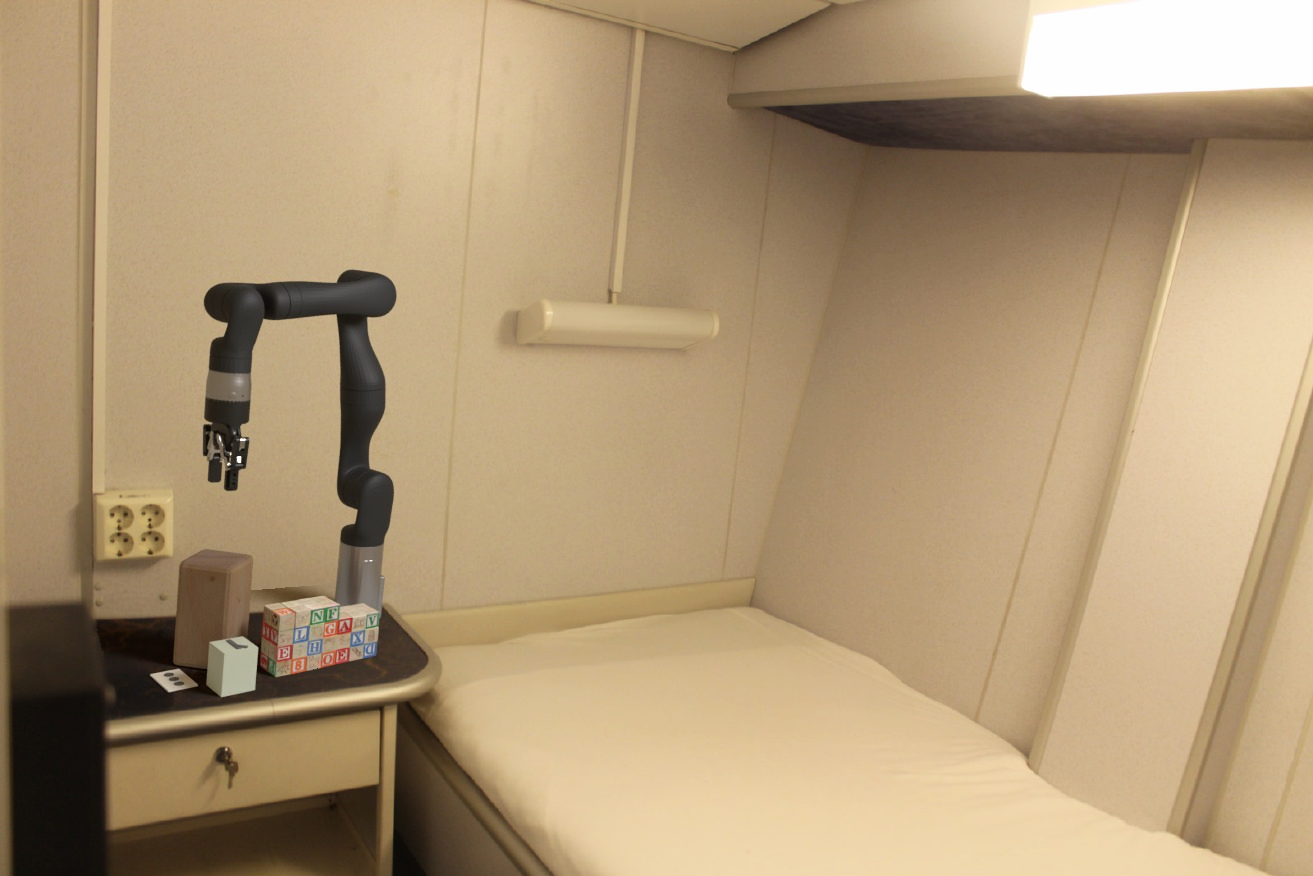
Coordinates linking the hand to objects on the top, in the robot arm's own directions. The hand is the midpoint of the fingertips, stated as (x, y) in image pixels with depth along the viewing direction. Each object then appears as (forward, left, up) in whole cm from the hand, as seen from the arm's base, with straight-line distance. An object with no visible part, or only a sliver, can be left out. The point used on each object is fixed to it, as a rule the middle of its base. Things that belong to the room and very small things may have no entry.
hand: (222, 485), depth 179 cm
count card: (+9, +6, -34) cm, 35 cm away
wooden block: (0, 0, -34) cm, 34 cm away
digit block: (+2, +13, -34) cm, 36 cm away
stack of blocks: (-17, +10, -34) cm, 39 cm away
